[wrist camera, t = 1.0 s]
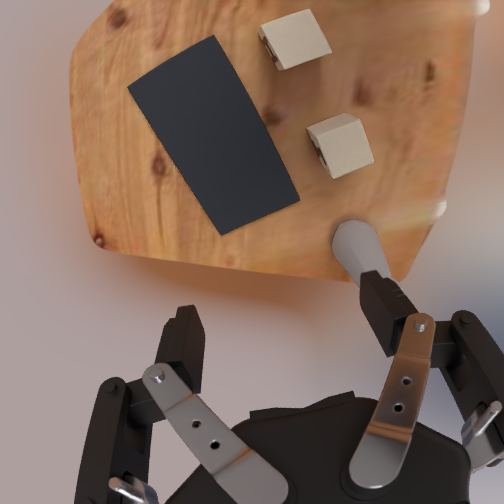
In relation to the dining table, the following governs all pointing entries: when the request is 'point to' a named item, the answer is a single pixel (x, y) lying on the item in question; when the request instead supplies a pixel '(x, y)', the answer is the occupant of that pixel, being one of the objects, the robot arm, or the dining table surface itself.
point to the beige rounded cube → (294, 39)
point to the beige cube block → (341, 144)
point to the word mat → (215, 136)
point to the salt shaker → (360, 250)
